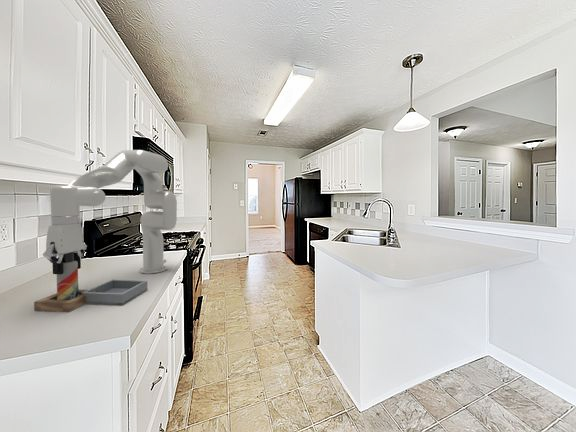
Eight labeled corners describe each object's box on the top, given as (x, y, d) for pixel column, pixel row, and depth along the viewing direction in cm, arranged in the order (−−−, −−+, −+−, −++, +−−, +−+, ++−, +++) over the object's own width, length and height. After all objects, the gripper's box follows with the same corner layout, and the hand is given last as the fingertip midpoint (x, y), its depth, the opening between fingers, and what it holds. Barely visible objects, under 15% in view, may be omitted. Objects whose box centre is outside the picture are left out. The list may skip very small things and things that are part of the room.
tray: (112, 288, 104) (112, 279, 103) (147, 290, 103) (147, 280, 103) (81, 303, 89) (81, 292, 88) (122, 305, 88) (122, 294, 88)
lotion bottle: (66, 308, 85) (64, 250, 84) (53, 306, 86) (51, 249, 85) (82, 301, 90) (81, 247, 89) (70, 299, 92) (68, 246, 90)
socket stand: (67, 296, 94) (67, 289, 94) (97, 297, 94) (97, 290, 94) (34, 310, 82) (34, 301, 82) (69, 311, 82) (69, 303, 82)
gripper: (77, 218, 95) (78, 264, 96) (29, 222, 78) (31, 278, 79) (96, 219, 95) (97, 265, 96) (52, 223, 78) (53, 279, 79)
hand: (67, 270), depth 87 cm, fingers open, 6 cm apart
